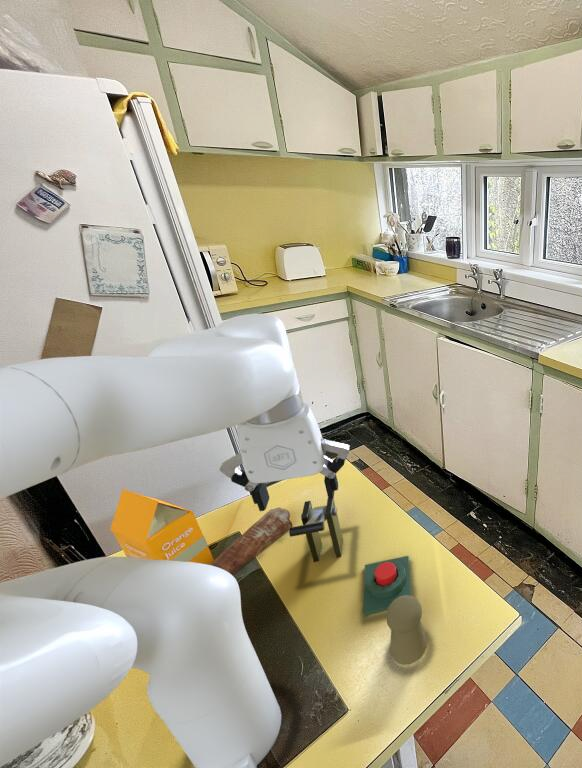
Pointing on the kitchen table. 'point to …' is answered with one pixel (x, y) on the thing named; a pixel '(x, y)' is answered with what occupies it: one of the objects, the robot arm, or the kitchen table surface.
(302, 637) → the kitchen table surface
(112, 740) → the kitchen table surface
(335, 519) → the bracket
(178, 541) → the orange juice
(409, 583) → the button box
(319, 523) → the lever
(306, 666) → the kitchen table surface
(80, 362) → the robot arm
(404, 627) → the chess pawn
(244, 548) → the salami
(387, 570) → the button
